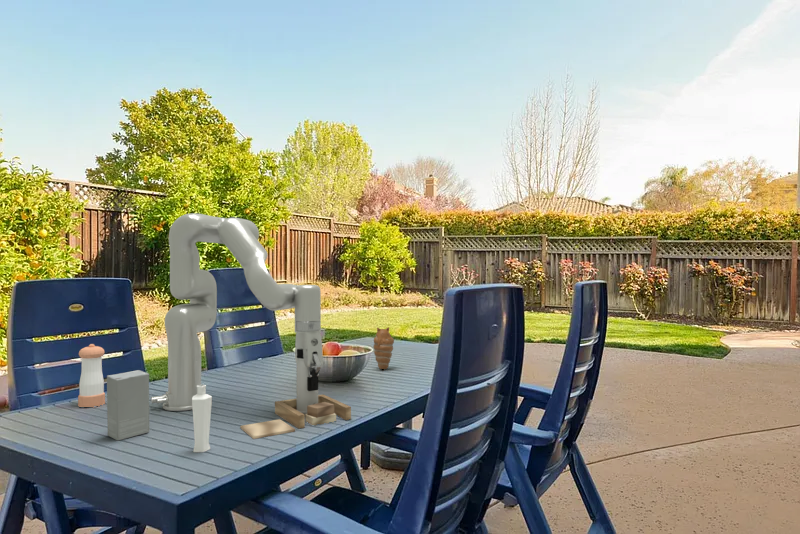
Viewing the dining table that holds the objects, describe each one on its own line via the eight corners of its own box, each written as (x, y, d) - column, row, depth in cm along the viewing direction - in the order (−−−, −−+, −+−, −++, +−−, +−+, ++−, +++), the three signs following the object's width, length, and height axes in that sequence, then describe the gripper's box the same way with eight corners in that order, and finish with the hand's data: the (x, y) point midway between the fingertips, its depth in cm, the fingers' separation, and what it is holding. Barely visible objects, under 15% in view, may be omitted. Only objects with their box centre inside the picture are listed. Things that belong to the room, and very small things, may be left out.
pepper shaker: (79, 404, 165) (79, 343, 165) (105, 401, 168) (105, 342, 168) (77, 409, 158) (77, 346, 158) (104, 406, 161) (104, 344, 162)
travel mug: (314, 417, 148) (314, 347, 148) (293, 416, 150) (293, 346, 150) (322, 411, 154) (322, 344, 154) (301, 410, 156) (301, 343, 156)
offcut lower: (312, 427, 140) (312, 418, 140) (305, 422, 145) (305, 413, 145) (336, 423, 144) (336, 414, 144) (328, 419, 148) (328, 410, 148)
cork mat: (253, 439, 129) (253, 436, 129) (240, 428, 139) (240, 425, 139) (295, 431, 135) (295, 429, 135) (279, 421, 145) (279, 419, 145)
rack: (299, 428, 138) (298, 415, 138) (274, 413, 153) (274, 401, 153) (350, 419, 146) (350, 406, 146) (323, 405, 161) (323, 394, 161)
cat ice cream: (375, 372, 214) (375, 328, 214) (370, 368, 222) (370, 326, 222) (396, 370, 217) (396, 327, 217) (390, 367, 225) (390, 326, 225)
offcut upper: (317, 417, 141) (316, 408, 141) (307, 414, 144) (307, 405, 144) (334, 413, 145) (334, 404, 145) (324, 410, 148) (324, 401, 148)
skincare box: (138, 428, 139) (138, 369, 139) (151, 433, 134) (151, 372, 134) (104, 436, 132) (104, 374, 132) (116, 442, 128) (116, 377, 128)
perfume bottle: (214, 446, 124) (214, 383, 124) (208, 452, 120) (208, 387, 120) (195, 446, 124) (195, 383, 124) (188, 452, 120) (188, 387, 120)
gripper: (332, 328, 147) (332, 392, 147) (307, 323, 162) (307, 381, 161) (307, 330, 143) (307, 395, 143) (284, 325, 157) (284, 384, 157)
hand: (307, 387), depth 152 cm, fingers closed on travel mug, 6 cm apart
